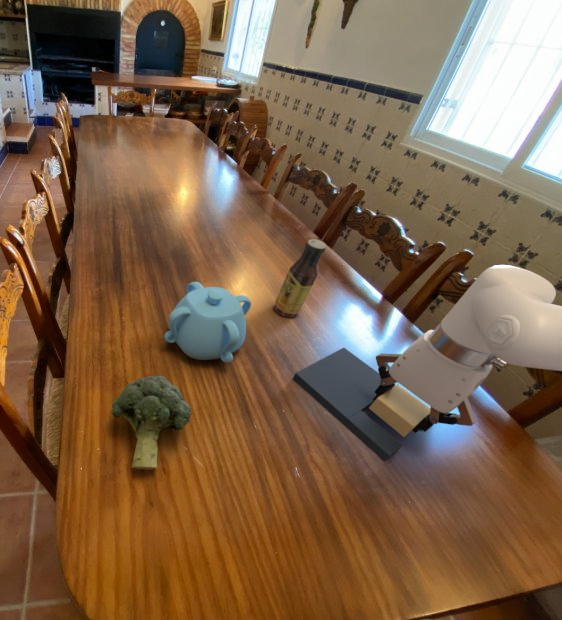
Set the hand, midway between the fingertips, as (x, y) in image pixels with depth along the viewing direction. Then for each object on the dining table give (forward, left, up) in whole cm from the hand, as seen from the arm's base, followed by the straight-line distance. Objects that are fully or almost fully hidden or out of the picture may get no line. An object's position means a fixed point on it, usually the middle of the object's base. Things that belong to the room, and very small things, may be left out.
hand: (397, 412), depth 65 cm
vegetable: (+19, +41, -4) cm, 45 cm away
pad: (0, 0, -1) cm, 1 cm away
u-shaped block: (+6, 0, -3) cm, 7 cm away
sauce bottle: (+32, -8, -4) cm, 33 cm away
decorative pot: (+33, +18, -3) cm, 38 cm away
